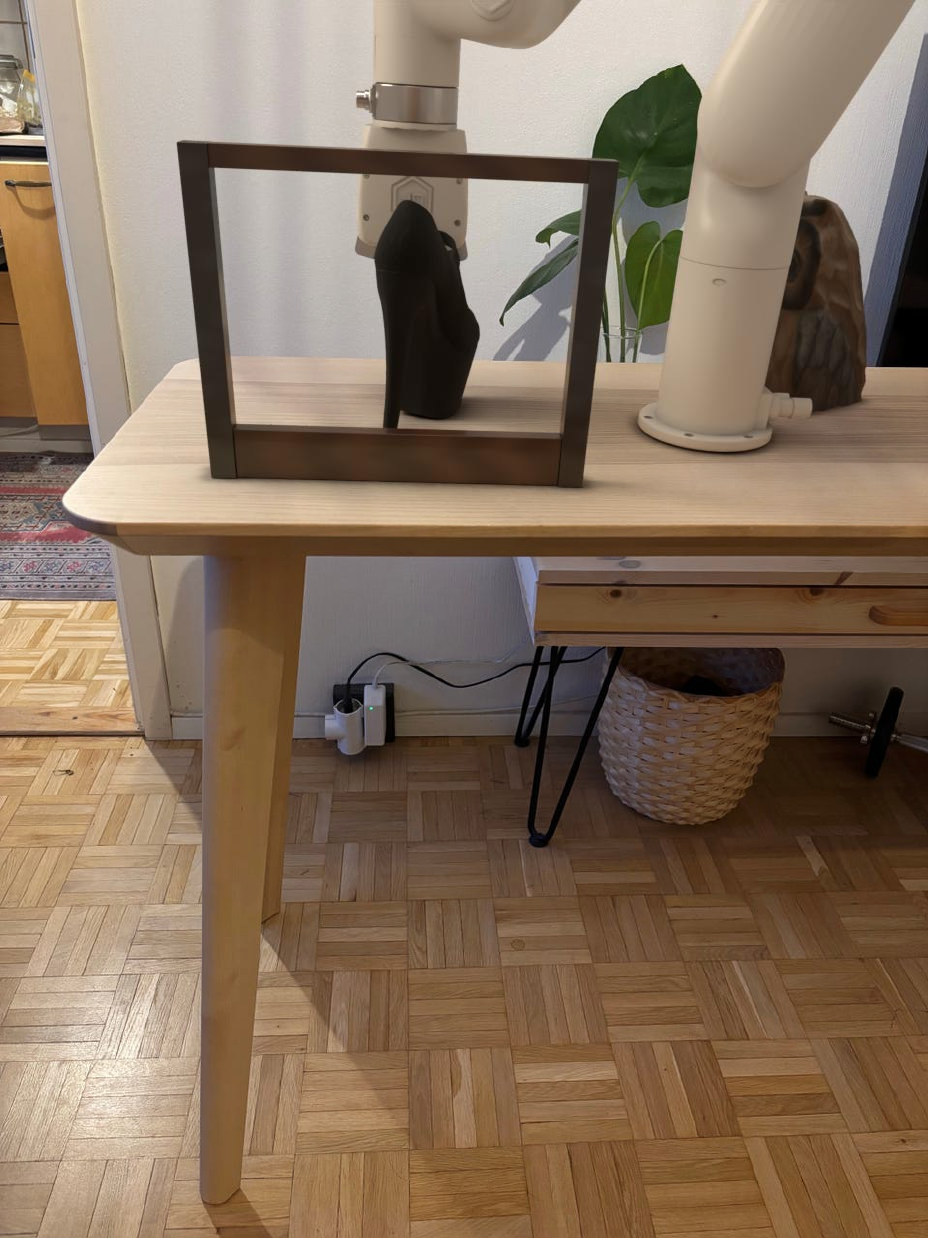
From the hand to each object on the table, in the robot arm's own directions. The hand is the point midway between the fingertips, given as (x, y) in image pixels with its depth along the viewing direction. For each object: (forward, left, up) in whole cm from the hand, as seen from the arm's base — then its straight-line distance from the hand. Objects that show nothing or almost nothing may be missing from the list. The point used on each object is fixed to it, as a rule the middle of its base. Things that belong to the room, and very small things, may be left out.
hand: (409, 320), depth 91 cm
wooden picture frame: (0, +22, -8) cm, 24 cm away
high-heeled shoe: (-1, +7, -8) cm, 10 cm away
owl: (-43, -4, -8) cm, 43 cm away
